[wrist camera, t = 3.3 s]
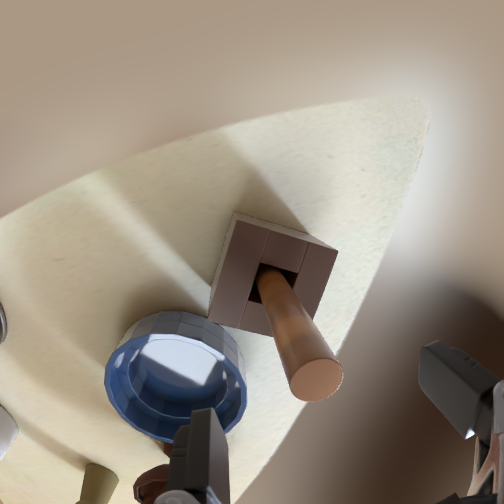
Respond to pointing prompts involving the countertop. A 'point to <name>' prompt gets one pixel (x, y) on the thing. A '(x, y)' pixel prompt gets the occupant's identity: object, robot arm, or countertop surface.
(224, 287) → the stand
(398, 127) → the countertop surface
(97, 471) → the cork
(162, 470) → the ice cream bowl
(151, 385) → the blue round bowl
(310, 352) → the stirring stick
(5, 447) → the mug
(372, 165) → the countertop surface
